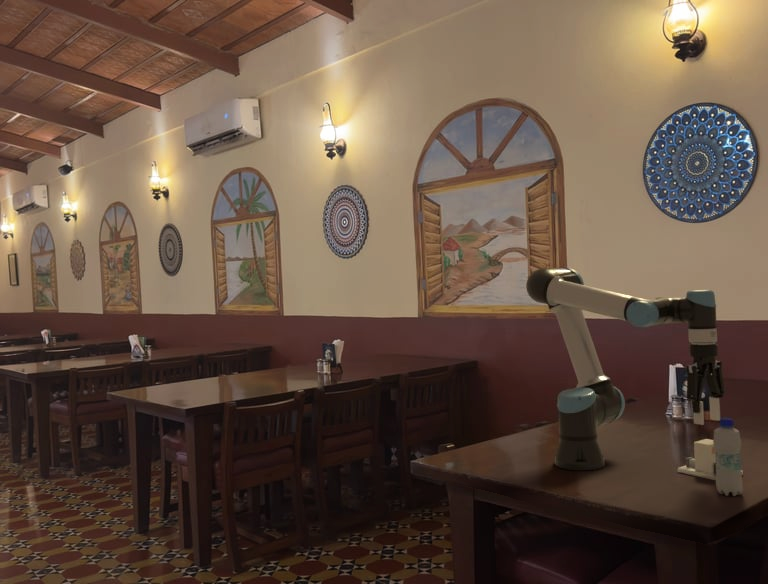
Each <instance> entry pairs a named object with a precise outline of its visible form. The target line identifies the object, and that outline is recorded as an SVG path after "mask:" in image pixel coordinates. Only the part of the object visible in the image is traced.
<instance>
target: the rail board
mask: <svg viewBox="0 0 768 584" xmlns="http://www.w3.org/2000/svg"><path fill="white" fill-rule="evenodd" d="M713 468H714V472H713V473H709V472H704V471H700V470H695V457H694V456H693V457H692V456H689V457H685V465H683V466H679V467H677V472H678V473H681V474H686V475H690V476H694V477H699V478H703V479H708V480H712V481H716V463H713ZM741 475H742V476H744V470H741Z"/></svg>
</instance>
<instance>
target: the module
mask: <svg viewBox="0 0 768 584" xmlns="http://www.w3.org/2000/svg"><path fill="white" fill-rule="evenodd" d="M693 453H694V458H695V470H700V471H704V472H709V473H713V472H714V468H713V463H716V456H715V448H714V443H713V439H709V438H705V439H700V440H698V441H697V440H696V441H694V442H693Z"/></svg>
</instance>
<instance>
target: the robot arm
mask: <svg viewBox="0 0 768 584" xmlns="http://www.w3.org/2000/svg"><path fill="white" fill-rule="evenodd" d="M525 285H526V286H525V287H526V292H527V294H528V296H529V297H530V299H532V300H533V301H534V302H536V303H539V304H545V305H547V307H548V310H549V311H550V312H551V313H553V314H554V315H555V316H556V320H557V321H558V325H559V328H560V331H561V334H562V337H563V340H564V343H565V346H566V350H567V352H568V355H569V357H570V360H571V364H572V367H573V370H574V372H575V375H576V378H577V384H576V387H574V388H567V389H564V390H562V391H561V392H559V393H558V394H557V402H556V407H557V417H558V418H557V422H558V434H559V435H558V437H559V441H558V445H557V448H556V449H557V450H556V454H555V456H554V465H555V466H556V467H558V468H560V469H564V470H569V471H570V470H571V471H592V470H598V469H601V468H604V467H605V465H606V463H605V462H606V461H605V460H606V459H605V456H604V454H603V452H602V449H601V446H600V442H599V439H598V427H599V426H602V425H605V424H610V423H612V422H614V421H616V420H617V419H619V418H620V417H621V416H622V414H623V413H624V411H625V407H626V406H625V405H626V401H625V397H624V395H623V392H621V390H620V389H619V388H617V387H616V386H614V385H613V383H612V380H611V378H610V377H609V376H607V375H605V373H604V371H603V368H602V365H601V362H600V359H599V356H598V354H597V350H596V348H595V344H594V341H593V339H592V336H591V333H590V329H589V328H588V327H589V326H588V325H587V324H588V323H587V321H586V319H585V316H584V313H583V312H584V311H585V312H590V313H594V314H598V315H602V316H605V317H609V318H613V319H618V320H620V321H621V320H622V321H625V322H629V323H630V324H631V325H632V326H634V327H637V328H649V327H651V326H657V325H663V324H670V323H671V324H673V323H674V324H675V323H676V324H677V323H678V324H679V323H684V324H686V323H687V326H688V327H687V328H688V342H690V344H689V346H688V347H689V348H688V349H689V356H690V357H691V358H693V360H692V361H693V362H692V364H691V365H686V366H685V367H686V368H685V369H686V373H687V376H686V377H687V379H686V380H687V381H686V382H687V383H686V384H687V385H686V400H688V401H689V402H692V403H691V404H692V412H693V424H694V425H695V424H696V425H701V426H703V425H705V418H704V417H705V416H704V415H705V414H704V412H705V411H704V401H702V396H703V389H704V384H705V380H706V383H707V386H708V389H709V394H710V396H709V397H708V401H709V417H710V419H709V420H712V421H720V419H721V405H720V404H721V401H720V399H721V398H724V395H725V387H724V379H723V372H722V371H723V369H722V367H723V363H722V361H720V360H719V361H718V360H716V359H715V358H717V357H718V356H719V346H718V345H719V344H717V343H716V342H718V332H717V304H716V297H715V296H716V295H715V292H714V291H713V290H711V289H700V290H699V289H697V290H695V289H693V290H688V291H687V292H686V296H684V297H653V298H649V299H646V298H641V297H637V296H633V295H628V294H623V293H619V292H615V291H611V290H606V289H602V288H598V287H597V288H596V287H594V286H588V285H585V283H584V280H583V277H582V276H581V274H580V273H579V272H578V271H577V270H575V269H573V268H570V267H563V266H560V267H546V268H545V267H543V268H539V269H536V270H534V271H533V272H532V273H531V274H530V275H529V276H528V278H527V280H526V284H525Z"/></svg>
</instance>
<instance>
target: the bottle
mask: <svg viewBox="0 0 768 584" xmlns="http://www.w3.org/2000/svg"><path fill="white" fill-rule="evenodd" d="M734 423H735V422H734V420H733V419H732V418H729V417H722V418H720V420H719V427H717V428H715V429H714V431H713V439H712V440H713V443H714V448H715V456H716V480H715V485H716V488H717V491H718V493H719V494H720V495H723V494H724V495H725V496H726V497H727V496H729V494H730V493H731V494H732V496H733V497H736V496H740V495H741V494H742V493H743V487H744V485H743V477H742V476H743V475H741V471H742V463H741V449H742V439H741V434H740V431H739V430H738V429H736V428H735V425H734Z"/></svg>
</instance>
